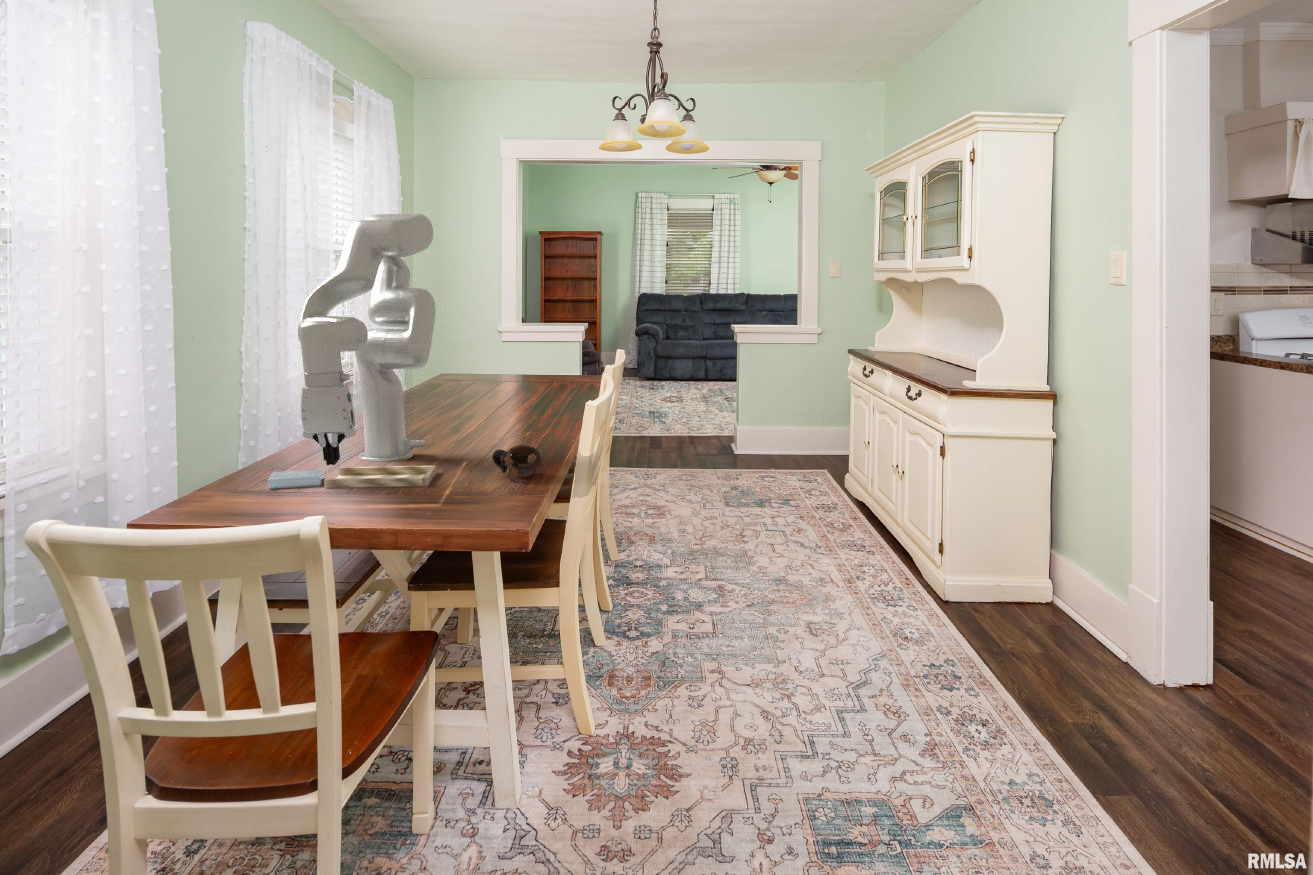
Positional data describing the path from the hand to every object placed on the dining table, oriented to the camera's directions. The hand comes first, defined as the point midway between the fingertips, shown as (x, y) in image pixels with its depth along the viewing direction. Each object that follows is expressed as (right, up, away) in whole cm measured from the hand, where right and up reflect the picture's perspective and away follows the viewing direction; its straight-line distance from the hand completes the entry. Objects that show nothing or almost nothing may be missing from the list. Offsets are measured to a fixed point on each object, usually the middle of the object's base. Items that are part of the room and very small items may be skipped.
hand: (332, 463), depth 176 cm
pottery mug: (+39, -3, +7) cm, 40 cm away
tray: (+11, -4, +1) cm, 11 cm away
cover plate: (-7, -5, -3) cm, 9 cm away
